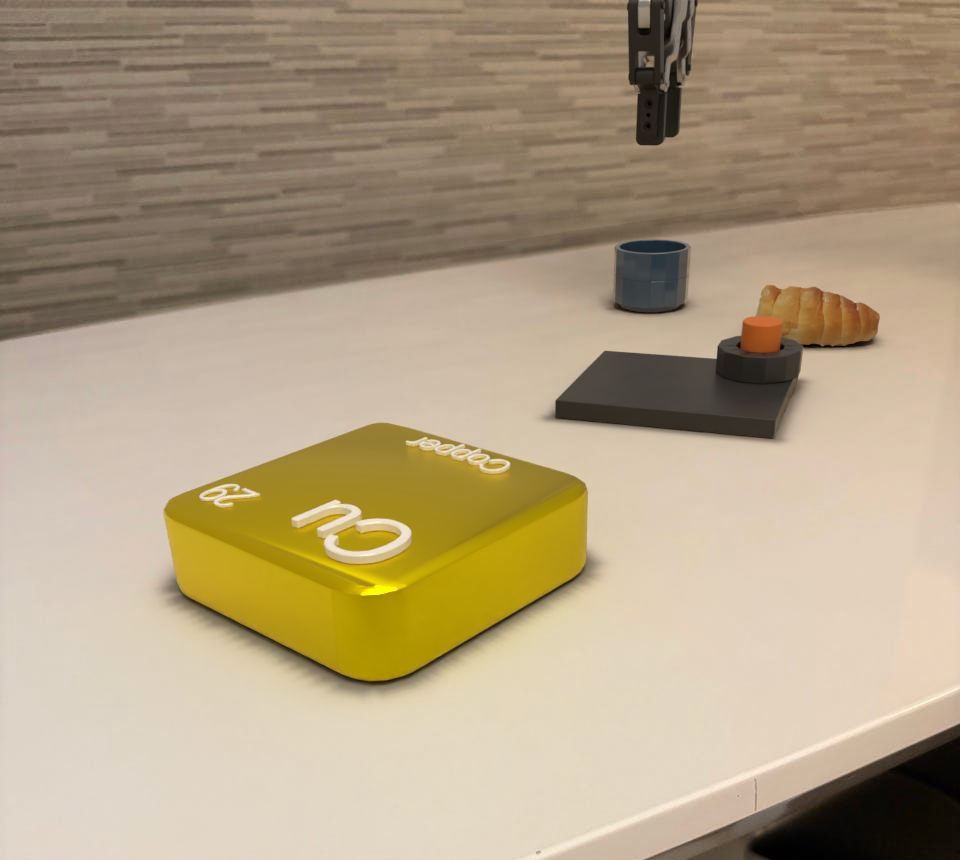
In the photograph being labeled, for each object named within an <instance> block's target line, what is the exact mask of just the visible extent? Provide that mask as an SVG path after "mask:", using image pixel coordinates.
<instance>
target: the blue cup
mask: <svg viewBox="0 0 960 860" xmlns="http://www.w3.org/2000/svg"><path fill="white" fill-rule="evenodd" d="M691 252H692V246H691V245H690V244H689V243H687V242H684V241H682V240H674V239H659V238H658V239H656V238H651V239H649V238H647V239H634V240H627V241H622V242H619V243H617V244H616V245H614V254H613V255H614V259H613V289H612V292H613V293H612V294H613V295H612V299H613V301H614V303H615V304H618V305H619V307H620V308H622V309H623V310H626V311H630V312H635V313H652V314H653V313H665V312H671V311H674V310H676V309H679V308H680V306H681V305H683V304H685V303H687V300H689V299H688V298H689V283H690V269H691V254H692V253H691Z"/></svg>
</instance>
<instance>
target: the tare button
mask: <svg viewBox="0 0 960 860" xmlns="http://www.w3.org/2000/svg"><path fill="white" fill-rule="evenodd" d="M782 326H783V321H782V320H781V319H778V318H775V317H769V316H756V315H755V316H749V317H746V318H744V319H743V321H742V327H741V335H740V336H741V347H740V349H741V350H745V351H749V352H761V353H766V352H777V351H780V344H781V335H782Z"/></svg>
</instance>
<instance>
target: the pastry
mask: <svg viewBox="0 0 960 860" xmlns="http://www.w3.org/2000/svg"><path fill="white" fill-rule="evenodd" d="M758 302H759V303H758V307H757V311H756V313H755V316H769V317H775V318H778V319H781V320H782V321H783V326H782V335H781V337H783V338H787V339H791V340H795V341H797V342H798V343H800V344H801V345H807V346H809V345H811V344H815V345H820V346H821V347H822V348H823V347H824V346H831V348H832V347H834V346H843V347H845V346H847V345H851V344H855V343H857V342H869V341H870V340H872V339H874V338H875V337H876V336H877V334H878V332H879V324H880V315H881V314H880V313H879V312H878V311H876V310H875V309H873V308H872V307H871V306H869V305H867V304H866V303H864V302H861V301H860V302H854V301H852V300H851V299H849V298H847V297H845V296H844V295H840V294H839V293H834V292H832V291H831V292H830V291H824V290H821V289H820V288H819V287H817V286H810V287H800V286H792V285H791V286H788V287H786V288H778V287H777V286H776V285H774V284H766V285H765V286H764V287H763V288H762V290H761V292H760V298H759V301H758Z"/></svg>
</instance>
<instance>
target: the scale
mask: <svg viewBox="0 0 960 860" xmlns="http://www.w3.org/2000/svg"><path fill="white" fill-rule="evenodd" d="M741 336H742V335H735V336H732V337H728V338H725V339H722V340H720V342H719V343H718V345H717V348H716V349H717V351H716V358H711V357H710V358H709V357H700V356H699V357H698V356H685V355H672V354H670V355H669V354H657V353H655V354H654V353H643V352H642V353H641V352H629V351H617V350H604V351H602V353H600V354H599V356H597V357H596V359H595V360H594V361H593V362H592V363H591V364H590V365H589V366H587V368H585V370H583V372H581V374H580V375H579V376H578V377H577V378H576V379H575V380H574V381H573V382H572V383H571V384H570V385H569V386H568V387H567V388H566V389H565V390H564V391H563V392H562V393H561V394H560V395H559V396H558V397H557V398H556V399H555V401H554V402H555V406H554V407H555V414H554V415H555V416H554V417H555V418H556V419H566V420H576V421H577V420H578V421H587V422H598V423H608V424H609V423H610V424H618V425H619V424H620V425H628V426H629V425H630V426H641V427H649V428H663V429H670V430H683V431H691V432H692V431H693V432H701V433H702V432H704V433H713V434H714V433H715V434H724V435H734V436H735V435H737V436H745V437H746V436H747V437H757V438H766V439H774V438H775V436H776V434H777V432H778V430H779V429H778V428H779V426H780V424H781V421H782V419H783V417H784V414H785V413H786V409H787V408H788V405H789V402H790V400H791V397H792V396H793V393H794V391H795V388H796V386H797V383H798V381H799V376H800V373H801V370H802V363H803V362H802V361H803V355H804V354H803V353H804V344H800V343H798V342H797V341H795V340H791V339H787V338H783V337H781V344H780V351H777V352H766V353H761V352H749V351H745V350H741V349H740V347H741Z"/></svg>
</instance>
